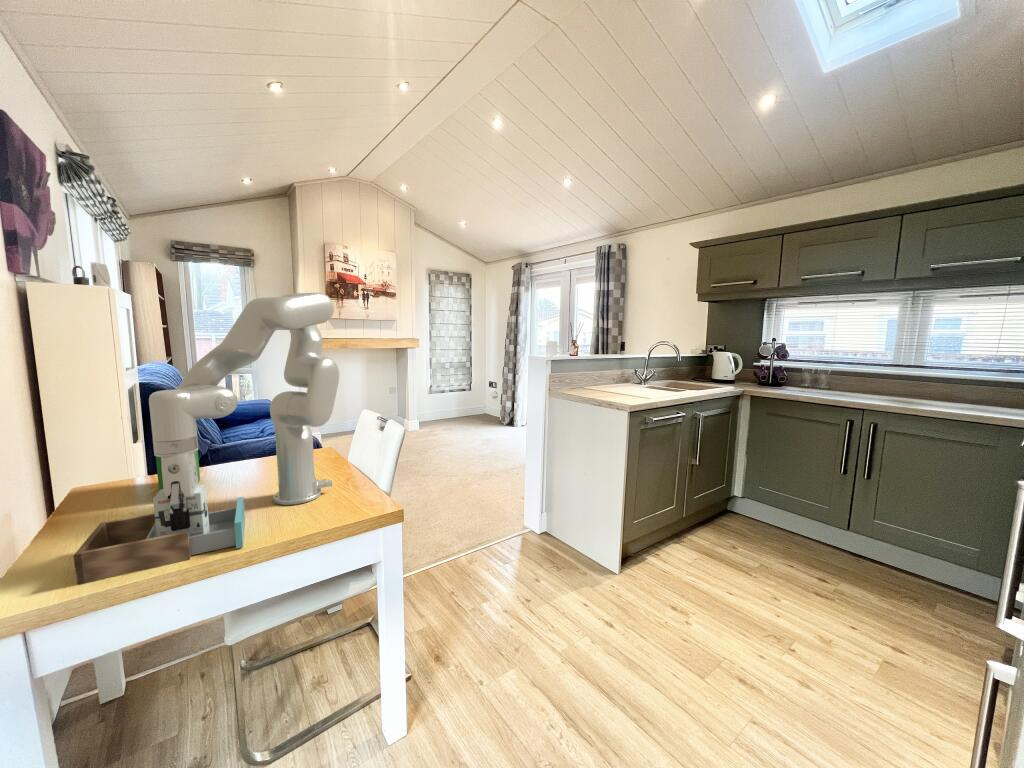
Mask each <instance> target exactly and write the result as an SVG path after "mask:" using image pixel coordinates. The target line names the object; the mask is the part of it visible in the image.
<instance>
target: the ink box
mask: <svg viewBox="0 0 1024 768" xmlns="http://www.w3.org/2000/svg"><path fill="white" fill-rule="evenodd" d="M207 495H208V493H207V485H206V484H198V485H197V487H196V490H195V495H194V496H193V497H192V498H190V497H187V510H189V516H190V527H189V528H187V529H182V530H177V531H172V530H171V522H170V501H167V500H165V496H164V489H161V490H160V491H159V490H158V492H157V493H156V494H155V496H153V498H152V503H153V511H154V513H153V514H155V524H156V533H157V537H160V536H165V535H170V534H175V533H180V532H185V531H188V534H189V537H191V536H196V535H201V534H206V533H209V531H210V530H209V517H208V513H209V509H208V496H207ZM168 497H170V495H169V496H168ZM181 497H184V495H180V497H179V498H181ZM180 503H182V504H183V500H182V501H180Z"/></svg>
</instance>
